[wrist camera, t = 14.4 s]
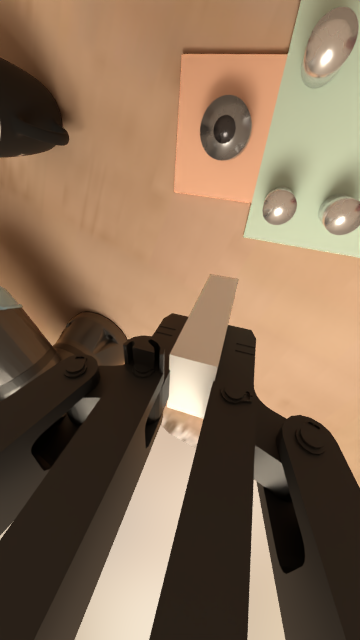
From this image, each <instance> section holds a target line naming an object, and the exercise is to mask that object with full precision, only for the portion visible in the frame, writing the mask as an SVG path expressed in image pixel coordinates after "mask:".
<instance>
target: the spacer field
mask: <svg viewBox="0 0 360 640" xmlns="http://www.w3.org/2000/svg"><path fill="white" fill-rule="evenodd" d="M337 7H348V8H350V9H352V10H353V11H354V12H355V14H356V16H357V18H358V24H359V30H358V36H357V40H356V43H355V45H354V48H353V50H352V52H351V53H350V55H349V56H348V58H347V59H346V61H345V62H344V63H343V65H342V66H341V68H340V69H339V71H338V72H337V74H336V75H335V76H334V77H333V79H332V80H331V81H330V82H329V83H327V84H326V85H324V86H322V87H320V88H316V89H312V88H309V87H307V86H306V85H305V84H304V83H303V81H302V77H301V66H302V62H303V58H304V54H305V51H306V47H307V43H308V40H309V37H310V35H311V33H312V31H313V29H314V27H315V26H316V24H317V23H318V22H319V20H320V19H321V18H322V17H323V16H324V15H325V14H326V13H328V12H329V11H331V10H333V9H335V8H337ZM281 186H283V187H287V188H289V189H290V190H291V191H292V193H293V194H294V196H295V198H296V201H297V209H296V212H295V214H294V215H293V217H292V218H291V219H290V220H289V221H288V222H286V223H284V224H281V225H272V224H270V223H268V222H267V221H266V220H265V219H264V217H263V212H262V210H263V205H264V201H265V198H266V196H267V194H268V193H269V192H270V191H271V190H273V189H274V188H276V187H281ZM335 194H345V195H347V196H350V197H352V198H354V199H356V200H358V201H360V0H301V2H300V6H299V10H298V15H297V19H296V23H295V27H294V31H293V35H292V39H291V43H290V47H289V51H288V56H287V60H286V64H285V68H284V72H283V76H282V80H281V84H280V88H279V93H278V97H277V101H276V105H275V109H274V113H273V117H272V121H271V125H270V129H269V134H268V138H267V142H266V146H265V150H264V154H263V158H262V162H261V166H260V170H259V175H258V179H257V183H256V187H255V191H254V195H253V199H252V203H251V207H250V212H249V216H248V220H247V224H246V228H245V232H244V236H243V237H245V238H251V239H257V240H262V241H268V242H274V243H279V244H285V245H290V246H296V247H302V248H307V249H313V250H319V251H324V252H330V253H336V254H341V255H347V256H352V257H358V258H360V226H359V227H358V228H356V229H355V230H354V231H352V232H350V233H348V234H345V235H334V234H331V233H330V232H329V231H328V230H327V229H326V228H325V227H324V225H323V224H322V223H321V221H320V220H319V217H318V211H319V208H320V206H321V204H322V203H323V202H324V201H325V200H326V199H327V198H328V197H330V196H332V195H335Z"/></svg>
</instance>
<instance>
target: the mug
mask: <svg viewBox="0 0 360 640" xmlns="http://www.w3.org/2000/svg"><path fill="white" fill-rule="evenodd" d="M68 142H69V135H68V133H67V131H66V130H65V129H64V128H62V120H61V115H60V111H59V108H58V106H57V103H56V101H55V100H54V98H53V96H52V95H51V93H50V92H49V91H48V90H47V89H46V88H45V86H44V85H43V84H41V83H40V82H39V81H38V80H37V79H35V78H34V77H33V76H31V75H30V74H28V73H27V72H25V71H23V70H22V69H20V68H18V67H17V66H15V65H13V64H11V63H10V62H8V61H6V60H4V59H2V58H0V157H16V156H25V155H32V154H37V153H41V152H45V151H48V150H50V149H52V148H53V147H54V146H55V145H66V144H68Z"/></svg>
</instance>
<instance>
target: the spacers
mask: <svg viewBox="0 0 360 640" xmlns="http://www.w3.org/2000/svg"><path fill="white" fill-rule="evenodd" d="M358 30H359V24H358V18H357V16H356V14H355V12H354V11H353V10H352V9H350V8H348V7H337V8H335V9H333V10H331V11H329V12H328V13H326V14H325V15H324V16H323V17H322V18H321V19H320V20H319V22H318V23H317V24H316V26H315V27H314V29H313V31H312V33H311V35H310V37H309V40H308V43H307V47H306V51H305V54H304V58H303V62H302V66H301V77H302V81H303V83H304V84H305V85H306V86H307V87H309V88H312V89H316V88H320V87H322V86H324V85H326V84H327V83H329V82H330V81H331V80H332V79H333V77H334V76H335V75H336V74H337V72H338V71H339V69H340V68H341V66H342V65H343V63H344V62H345V61H346V59H347V58H348V56H349V55H350V53H351V52H352V50H353V48H354V45H355V43H356V40H357V36H358ZM296 209H297V201H296V198H295V196H294V194H293V193H292V191H291V190H290V189H289V188H287V187H283V186H281V187H276V188H274V189H273V190H271V191H270V192H269V193H268V194H267V196H266V198H265V201H264V205H263V210H262V212H263V217H264V219H265V220H266V221H267V222H268V223H270V224H272V225H281V224H284V223H286V222H288V221H289V220H290V219H291V218H292V217H293V215H294V214H295V212H296ZM318 217H319V220H320V221H321V223H322V224H323V225H324V227H325V228H326V229H327V230H328V231H329V232H330V233H331V234H334V235H345V234H348V233H350V232H352V231H354V230H355V229H356V228H358V227H359V226H360V201H358V200H356V199H354V198H352V197H350V196H347V195H345V194H335V195H332V196H330V197H328V198H327V199H326V200H325V201H324V202H323V203H322V204H321V206H320V208H319V211H318Z"/></svg>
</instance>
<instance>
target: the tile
mask: <svg viewBox="0 0 360 640" xmlns="http://www.w3.org/2000/svg"><path fill="white" fill-rule="evenodd" d="M287 56H288V54H182V59H181V77H180V94H179V111H178V129H177V146H176V163H175V180H174V192H176V193H183V194H190V195H197V196H204V197H211V198H218V199H225V200H232V201H239V202H246V203H252V199H253V195H254V191H255V187H256V183H257V179H258V175H259V170H260V166H261V162H262V158H263V154H264V150H265V146H266V142H267V138H268V134H269V129H270V125H271V121H272V117H273V113H274V109H275V105H276V101H277V97H278V93H279V88H280V84H281V80H282V76H283V72H284V68H285V64H286V60H287ZM223 95H234V96H237V97H239V98H240V99H241V100H242V101H243V102H244V103H245V104H246V106H247V108H248V110H249V112H250V115H251V118H252V133H251V137H250V140H249V143H248V145H247V146H246V148H245V149H244V151H243V152H242V153H241V154H240V155H239V156H237V157H236V158H234V159H231V160H216V159H213V158H212V157H210V156H209V155H208V154H207V153H206V151H205V150H204V148H203V146H202V143H201V138H200V126H201V121H202V118H203V115H204V113H205V111H206V109H207V108H208V106H209V105H210V104H211V103H212V102H213V101H214V100H215V99H217V98H219V97H221V96H223Z"/></svg>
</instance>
